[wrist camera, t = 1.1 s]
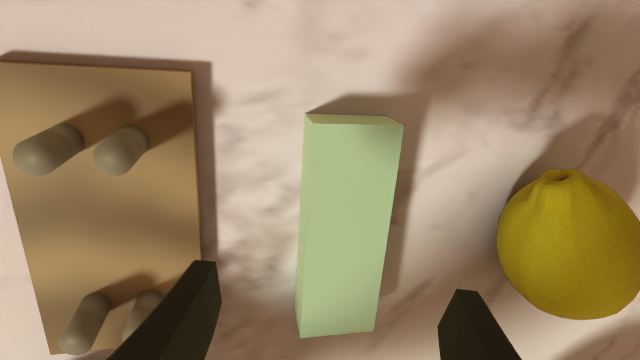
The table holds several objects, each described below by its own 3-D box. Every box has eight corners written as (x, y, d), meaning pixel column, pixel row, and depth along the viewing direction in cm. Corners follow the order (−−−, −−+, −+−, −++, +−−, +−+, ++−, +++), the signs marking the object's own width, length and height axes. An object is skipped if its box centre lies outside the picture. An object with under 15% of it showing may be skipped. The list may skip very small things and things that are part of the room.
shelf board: (360, 301, 27) (373, 330, 25) (293, 306, 26) (300, 338, 23) (384, 114, 22) (404, 125, 20) (303, 112, 21) (312, 123, 19)
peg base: (206, 329, 25) (200, 379, 21) (58, 342, 23) (23, 399, 19) (192, 70, 19) (180, 79, 15) (-10, 60, 17) (-78, 66, 13)
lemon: (565, 258, 29) (672, 332, 22) (476, 288, 29) (556, 374, 21) (573, 131, 25) (709, 170, 18) (468, 162, 24) (566, 216, 17)
